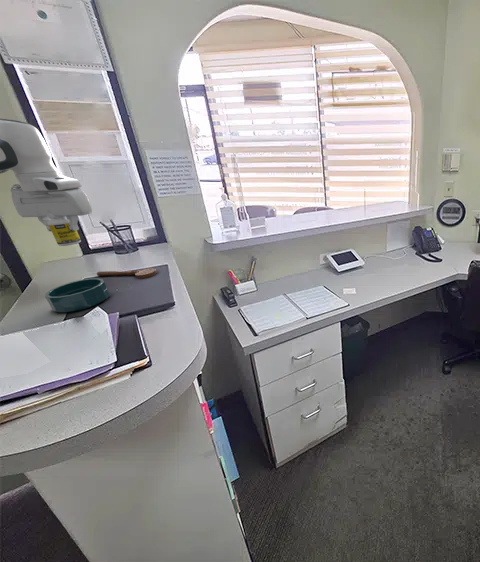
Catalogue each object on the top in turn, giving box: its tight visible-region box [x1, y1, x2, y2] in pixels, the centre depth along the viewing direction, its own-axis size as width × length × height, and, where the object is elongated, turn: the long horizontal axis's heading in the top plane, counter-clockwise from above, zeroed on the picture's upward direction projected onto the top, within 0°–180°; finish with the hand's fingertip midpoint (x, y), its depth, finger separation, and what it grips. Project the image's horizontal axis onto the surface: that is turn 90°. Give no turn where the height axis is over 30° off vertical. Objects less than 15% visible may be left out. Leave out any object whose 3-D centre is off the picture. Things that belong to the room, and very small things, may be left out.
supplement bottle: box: [48, 213, 82, 247], centre depth 93 cm, size 5×5×10 cm
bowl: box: [44, 277, 110, 313], centre depth 88 cm, size 12×12×5 cm
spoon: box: [96, 267, 158, 279], centre depth 107 cm, size 21×6×2 cm, turn 87°
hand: (64, 230), depth 94 cm, fingers closed on supplement bottle, 5 cm apart
